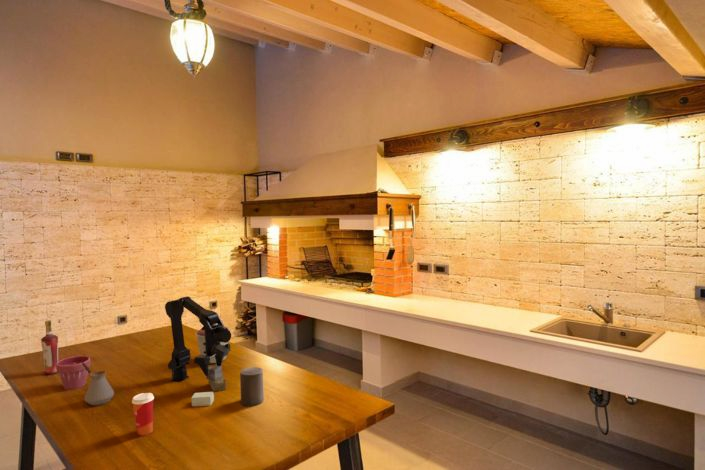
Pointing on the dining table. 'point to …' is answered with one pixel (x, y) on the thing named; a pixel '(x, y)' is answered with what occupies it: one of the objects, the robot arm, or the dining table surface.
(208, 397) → the beige brick
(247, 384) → the pillar candle
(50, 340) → the liquor
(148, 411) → the paper cup
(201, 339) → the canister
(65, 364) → the plant pot
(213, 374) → the gray cube
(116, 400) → the dining table surface
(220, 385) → the stone block
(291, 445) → the dining table surface
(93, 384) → the coffee pot
